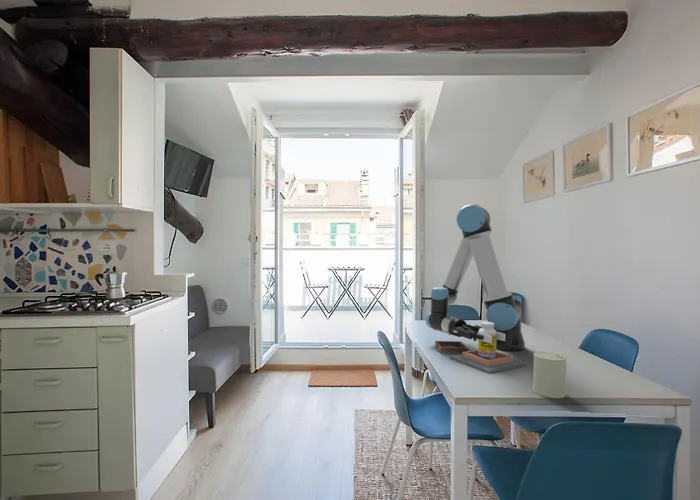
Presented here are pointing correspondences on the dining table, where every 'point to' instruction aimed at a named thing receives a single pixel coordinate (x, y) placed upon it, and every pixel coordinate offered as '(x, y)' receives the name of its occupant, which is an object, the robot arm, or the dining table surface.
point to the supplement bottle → (485, 347)
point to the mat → (488, 368)
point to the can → (549, 374)
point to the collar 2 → (499, 360)
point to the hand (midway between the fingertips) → (498, 338)
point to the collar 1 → (450, 343)
